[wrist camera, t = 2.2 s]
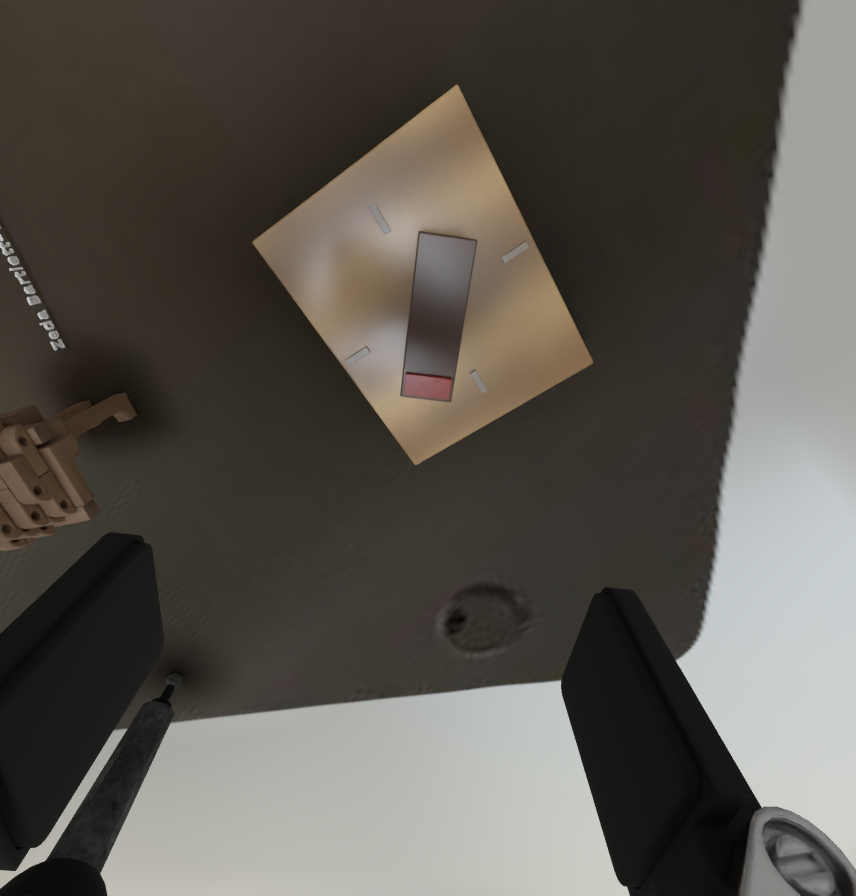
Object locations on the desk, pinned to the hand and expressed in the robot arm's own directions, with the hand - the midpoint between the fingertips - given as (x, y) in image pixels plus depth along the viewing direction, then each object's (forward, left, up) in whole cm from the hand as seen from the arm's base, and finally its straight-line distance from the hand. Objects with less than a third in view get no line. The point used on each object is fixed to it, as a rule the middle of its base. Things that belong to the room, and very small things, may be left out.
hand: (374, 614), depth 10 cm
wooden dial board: (-2, +3, -22) cm, 22 cm away
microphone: (+13, -33, -22) cm, 41 cm away
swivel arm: (-2, +3, -18) cm, 18 cm away
